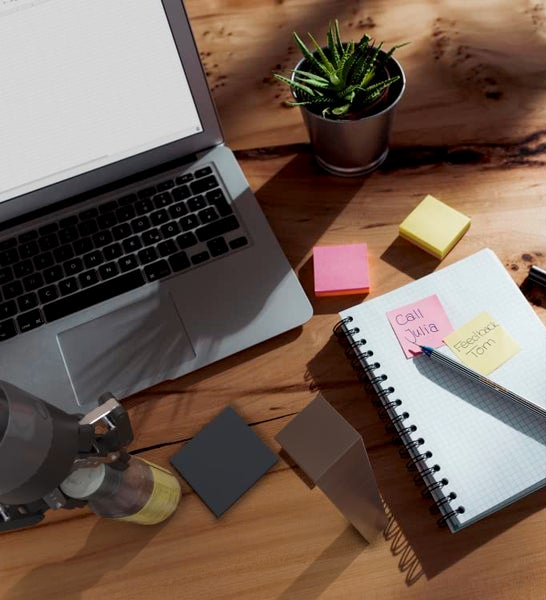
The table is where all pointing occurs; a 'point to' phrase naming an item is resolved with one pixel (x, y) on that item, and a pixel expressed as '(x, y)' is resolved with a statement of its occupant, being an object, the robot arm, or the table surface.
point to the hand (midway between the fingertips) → (100, 479)
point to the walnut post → (336, 464)
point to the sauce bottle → (127, 491)
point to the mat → (224, 461)
